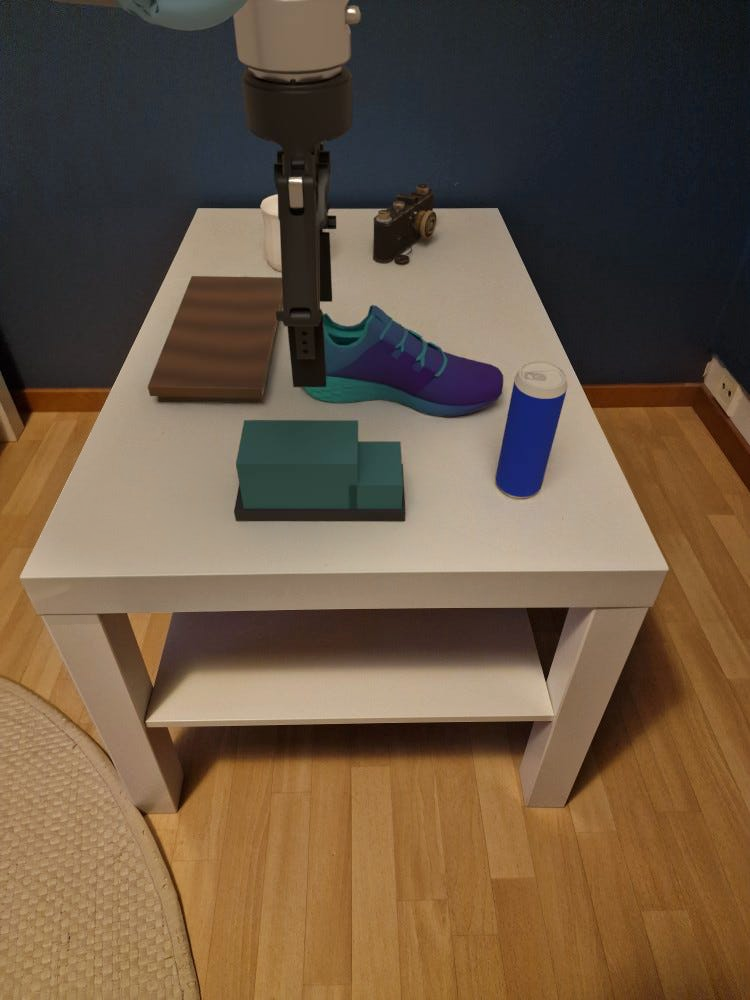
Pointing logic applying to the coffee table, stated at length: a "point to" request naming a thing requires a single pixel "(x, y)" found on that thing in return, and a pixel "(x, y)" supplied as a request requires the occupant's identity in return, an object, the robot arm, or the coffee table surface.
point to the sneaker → (401, 369)
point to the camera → (403, 225)
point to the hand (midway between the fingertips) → (314, 339)
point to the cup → (272, 231)
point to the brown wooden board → (219, 341)
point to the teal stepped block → (317, 473)
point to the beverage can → (530, 428)
